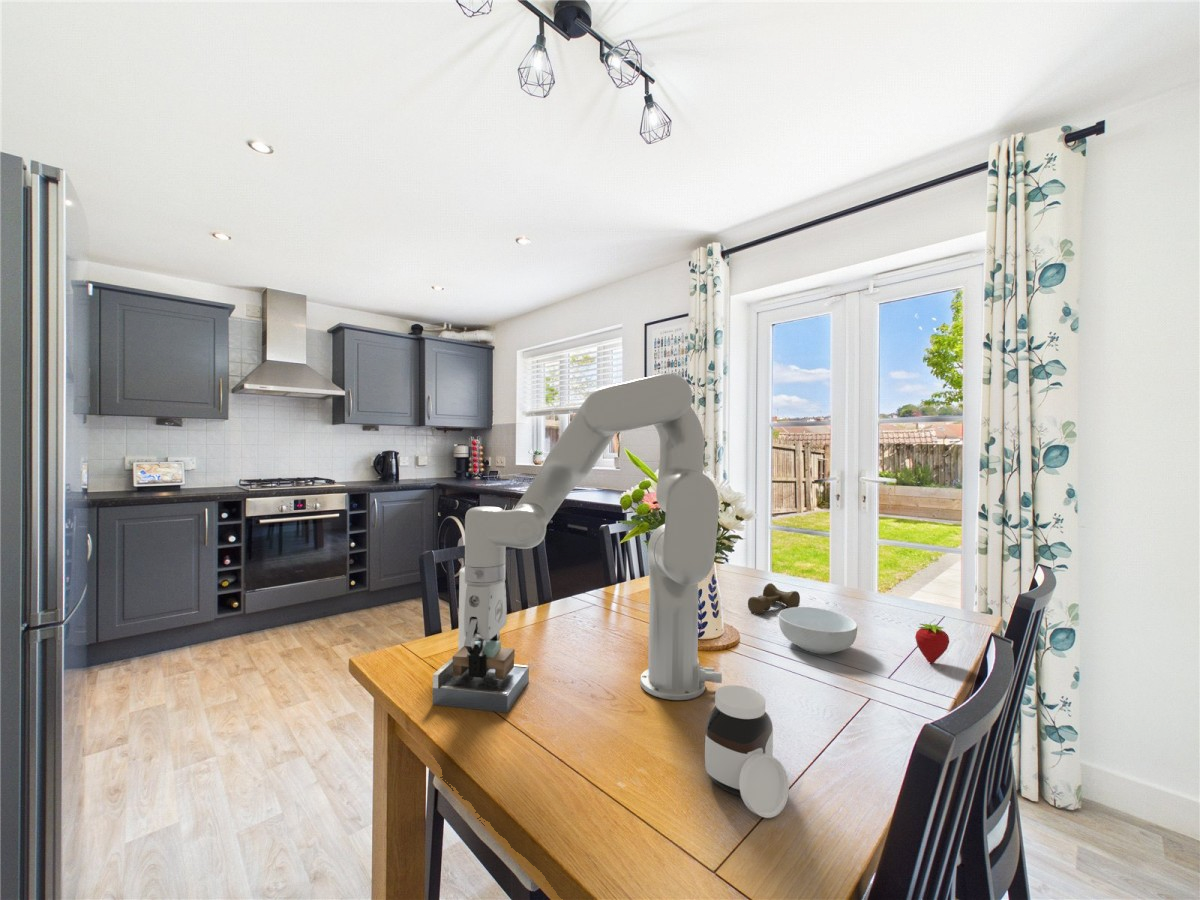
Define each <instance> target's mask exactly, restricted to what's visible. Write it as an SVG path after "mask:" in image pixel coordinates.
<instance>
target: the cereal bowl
mask: <svg viewBox="0 0 1200 900" xmlns="http://www.w3.org/2000/svg"><path fill="white" fill-rule="evenodd" d="M778 625H779V628H780V629H779V630H780V631H781V633H782V634H783V635H784V637H785V638H786V639H787V640H788V641H789V642H791V643H792V644H794V645H796V646H798V647H799V648H801V649H802V650H804V651H806V652H808V651H809V652H808V653H812V654H816V653H817V655H829V654H833V653H838V652H842V651H844V650H848V648H850V647H851V646H852V645H853V644H854V642H855V641H856V639H857V635H858V634H857V633H858V624H857V622H856V621H855V620H854V619H852V618H851V617H850V616H847V615H845V614H842V613H839V612H837V611H833V610H830V609H823V608H818V607H812V606H811V607H809V606H798V607H792V608H788V607H787V608H785V609H781V610H780V611H779V613H778Z"/></svg>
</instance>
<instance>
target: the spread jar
mask: <svg viewBox="0 0 1200 900" xmlns="http://www.w3.org/2000/svg"><path fill="white" fill-rule="evenodd" d="M714 693H715V695H714V704H715V706H714V707H713V709H712V710H711V713H710V715H709V717H708V720H707V723H706V728H705V739H704V740H705V741H704V765H705V767H704V768H705V771H706V773H707V776H708V777H709V778H710V779H711V780H712V781H713V782H714V783H715V785H717V786H718V787H720V788H721V789H723V790H724V791H726V792H728V793H730V794H733V795H737V796H740V797H741V799H742V801H743V803H744V805H745V806H746V807H747V809H748V810H749V811H751V812H752V813H754V814H756V815H758V816H760V817H762V818H765V819H771V818H774V817H777V816H778V815H779V814H781V812H782V811H783V810H784V808H785V807H786V805H787V801H788V799H789V798H788V797H789V792H790V791H789V790H790V786H789V779H788V778H789V777H788V775H787V771H786V769H785V768H784V765H783V764H782V763H781V762H780V761H779V759H778V758H776V757H774V756H773V755H774V754H773V753H774V750H773V749H774V747H773V746H774V745H773V744H774V730H773V729H774V728H773V721H772V719H771V717H770V715H769V714H768V712H766V698H765V697H764V695H763V694H761V693H760V692H759V691H757V690H755V689H753V688H751V687H747V686H743V685H734V684H732V685H724V686H721V687H718V688H717V689H716V691H715V692H714Z"/></svg>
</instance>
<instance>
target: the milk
mask: <svg viewBox="0 0 1200 900" xmlns="http://www.w3.org/2000/svg"><path fill="white" fill-rule="evenodd" d="M458 578H459V580H458V581H459V583H458V584H459V585H458V586H459V587H458V588H459V589H458V594H459V595H458V645H457V647H458V649H457V652H458V651H459V650H460V649H461V648H462V647H464V642H465V639H466V638H465V635H464V608H465V596H466V588H467V584H466V583H465V582H464V580H465V566H463V567H462V568H460V569H459V577H458ZM476 637H481V636H480V634H476Z"/></svg>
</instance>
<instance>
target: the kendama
mask: <svg viewBox="0 0 1200 900" xmlns="http://www.w3.org/2000/svg"><path fill="white" fill-rule="evenodd" d="M777 602H778V603H782V604H784V605H785V606H786V607H787V608H792V607H800V606H799V605H800V603H801V597H800V593H799V592H798V591H797V590H791V591H782V590H780V589H779V588H777V587H776V585H774V583H772V582H771V583H770V582H769V583H767V584H766V585H765V586H764V587H763V591H762V594H760V595H757V596H751V597H749V598H748V601H747V608H748V610H749V611H750V613H751V614H753V613H755V614H754V615H757V614H759V615H762V614H763V613H764V611H765V612H766V611H767V612H768V611H769V610H770V609H771V608H772V605H774V604H776V603H777ZM759 615H758V616H759Z"/></svg>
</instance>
